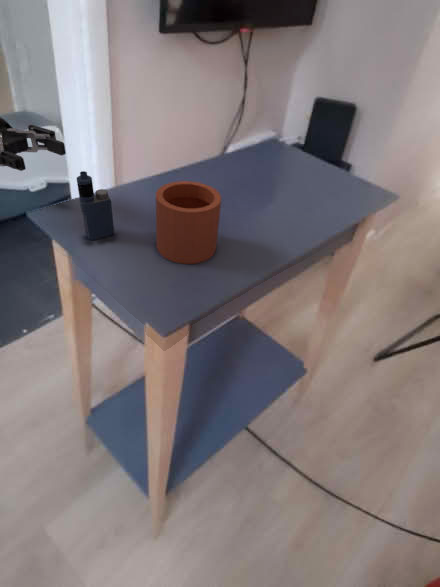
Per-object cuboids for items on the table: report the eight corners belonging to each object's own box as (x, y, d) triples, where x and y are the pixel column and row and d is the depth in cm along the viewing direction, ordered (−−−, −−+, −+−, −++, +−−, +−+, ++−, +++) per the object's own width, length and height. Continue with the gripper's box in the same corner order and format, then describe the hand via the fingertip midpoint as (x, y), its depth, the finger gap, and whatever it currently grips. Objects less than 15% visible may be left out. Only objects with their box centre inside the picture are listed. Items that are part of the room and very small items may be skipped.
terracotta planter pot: (196, 271, 65) (199, 219, 59) (144, 249, 68) (142, 197, 62) (226, 243, 72) (232, 193, 66) (178, 224, 76) (179, 175, 69)
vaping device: (82, 234, 70) (72, 170, 62) (110, 227, 73) (104, 165, 65) (88, 241, 69) (78, 177, 61) (116, 234, 71) (110, 171, 63)
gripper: (-69, 119, 63) (1, 145, 58) (7, 102, 73) (72, 123, 68) (-52, 164, 68) (13, 192, 63) (17, 142, 78) (78, 165, 73)
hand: (44, 156), depth 66 cm, fingers open, 8 cm apart
